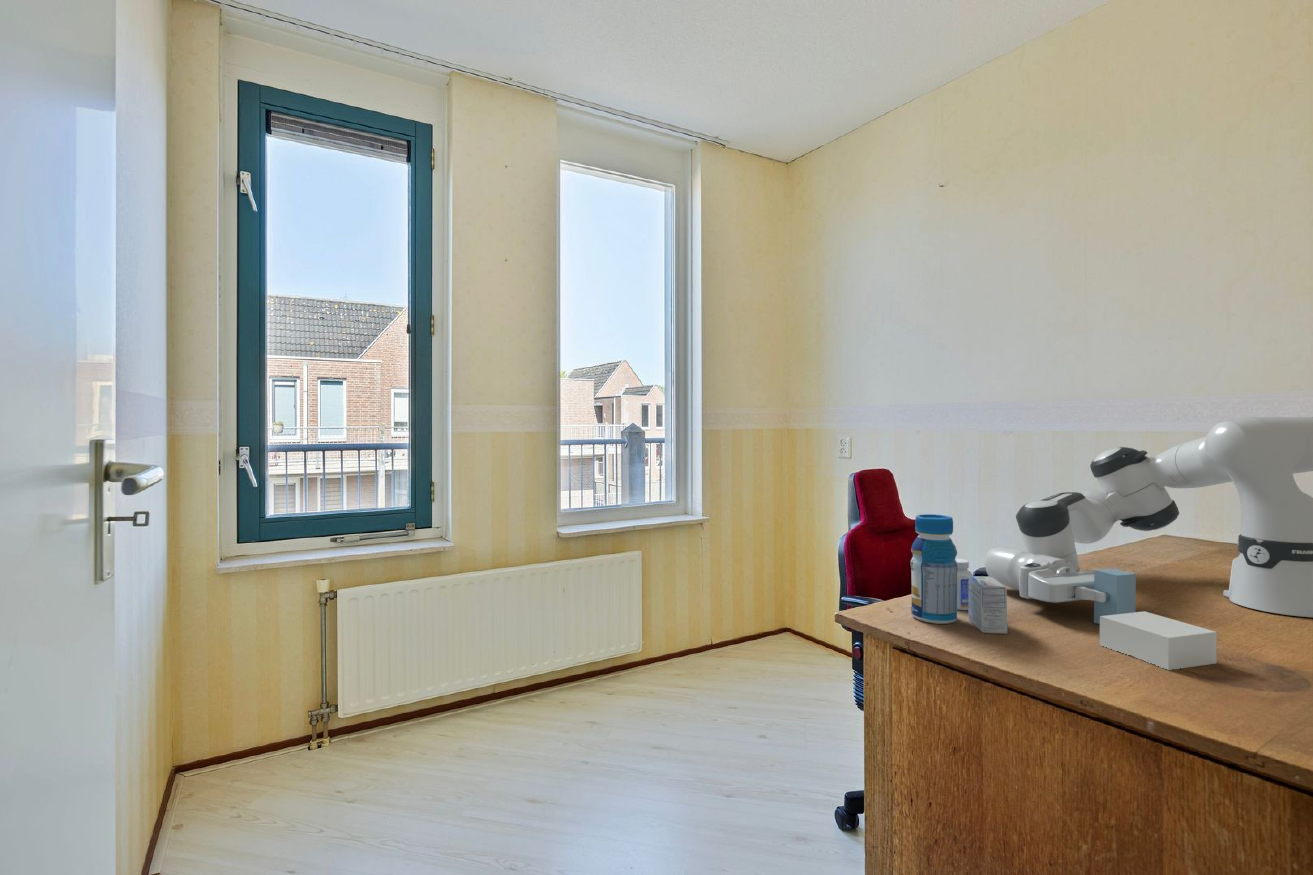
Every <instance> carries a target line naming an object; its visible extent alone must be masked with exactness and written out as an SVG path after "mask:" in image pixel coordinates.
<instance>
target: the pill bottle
mask: <svg viewBox="0 0 1313 875" xmlns="http://www.w3.org/2000/svg"><path fill="white" fill-rule="evenodd" d="M955 560H956V562H957V564H958V571H957V610H958V611H969V610H968V607H969V606H968V604H969V601H968V600H969V597H968V580H969V577H972V576H974V575H973V573H972V572H971V571H970V570H969V567H970V564H969V563H970V562H969V560H967V559H964V558H956V557H955Z"/></svg>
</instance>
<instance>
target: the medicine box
mask: <svg viewBox="0 0 1313 875" xmlns="http://www.w3.org/2000/svg"><path fill="white" fill-rule="evenodd" d="M1007 591H1008V590H1007V586H1005V585H1003V584H1001V583H1000V582H998V581H997V580H995V579H994V578H992V577H990V576H983V575H981V576H979V575H978V576H976V575H973V576H972V577H969V580H968V597H969V600H968V601H969V604H968V606H969V607H968V610H967V611H968V620H969V621H970V622H971V623H972V624H973V625H974V626H975V627H976V628H977V629H978V630H979V631H980V632H981V633H983V634H996V635H997V634H998V635H1006V634H1008V598H1007V597H1008V596H1007V595H1008V592H1007Z"/></svg>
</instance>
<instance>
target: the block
mask: <svg viewBox="0 0 1313 875" xmlns="http://www.w3.org/2000/svg"><path fill="white" fill-rule="evenodd" d="M1136 577H1137V574H1136V573H1134V572H1130V571H1125V570H1121V569H1116V568H1105V569H1104V568H1101V569H1094V590H1097V591H1104V592H1108V593H1109V594H1110V597H1109V598H1110V601H1109V602H1098V601H1095V600H1093V623H1095V624H1098V625H1100V616H1107V615H1116V614H1125V613H1134V612H1137V611H1136V604H1137V603H1136V602H1137V601H1136V600H1137V599H1136V597H1137V596H1136V591H1137V590H1136V588H1137V587H1136V586H1137V585H1136V584H1137V580H1136V579H1137V578H1136Z"/></svg>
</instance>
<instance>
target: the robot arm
mask: <svg viewBox="0 0 1313 875" xmlns="http://www.w3.org/2000/svg"><path fill="white" fill-rule="evenodd" d="M1147 455H1148V452H1147V451H1146V450H1138V449H1135V448H1133V447H1128V446H1127V447H1125V446H1124V447H1123V446H1120V447H1114V448H1110V449H1107V450H1104V451H1102V452H1101V453H1099V454H1098V455H1097V456H1096V457H1095V458H1094V459H1093V460H1092V461H1091V463H1090V465H1089V467H1090V470H1091V473H1092V475H1093V477H1094V478H1096V479H1097V481H1098V483H1099V485H1100V486H1101V488H1102V490H1100V489H1086V490H1084V491H1083V490H1082V491H1081V492H1078V491H1075V492H1074V491H1073V492H1071V491H1067V492H1060V493H1056V494H1053V495H1050V496H1049V497H1046V498H1042V499H1041V500H1037V501H1031V502H1029V503H1025V504H1023V506H1021V507H1020V508H1019V510H1018V511H1017V513H1016V515H1015V519H1016V522H1017V525H1018V527H1019V531H1020V535H1021V538H1022V543H1023V547H1024V549H1021V548H1014V547H1006V546H995V547H991V548H990V549H989V550H988V551H987V553H986V555H985V559H984V567H985V571H986V574H987V576H988V577H992V578H994V579H995V580H997V581H998V582H1000V583H1001V584H1002V585H1004V586H1005V587H1008V588H1010V589H1014V590H1017V591H1019V592H1018V593H1019V597H1021V598H1023V599H1026V600H1037V601H1041V602H1046V603H1064V602H1065V603H1067V602H1075V601H1076V602H1077V601H1083V600H1084V601H1085V600H1087V601H1094V600H1095V601H1098V602H1109V601H1110V598H1109V597H1110V594H1109V593H1108V592H1104V591H1097V590H1094V570H1095V569H1094V570H1092V569H1091V570H1080V563H1079V556H1078V553H1077V548H1076V544H1075V543H1077V544H1083V545H1085V544H1093V543H1097V542H1098V541H1101V540H1103V539H1104V538H1105V537H1106V536H1107V535H1108V534H1109V533H1110V531H1111V529H1112V528H1113V527H1114V525H1115V524H1116V523H1117V522H1118V521H1121V522H1120V523H1119V525H1120V526H1121V527H1123V528H1128V527H1129V528H1131V529H1133V530H1138V531H1143V532H1149V531H1150V532H1151V531H1156V530H1161V529H1165V528H1166V527H1168V526H1169V525H1171V524H1172V523H1173V522H1175V521H1176V519H1178V517H1179V515H1180V510H1179V507H1178V505H1177V503H1176V501H1175V500H1173V499H1172V498H1171V496H1170V494H1169V492H1168V491H1167V489H1166V487H1167V488H1169V489H1170V488H1172V489H1196V488H1198V489H1199V488H1204V487H1210V486H1216V485H1221V484H1225V483H1231V482H1232V483H1233V484H1234V485H1235V488H1236V491H1237V494H1238V497H1239V501H1240V521H1241V522H1240V524H1241V525H1240V527H1241V528H1240V529H1241V530H1240V531H1241V533H1240V534H1239V535H1238V538H1237V539H1238V540H1237V551H1238V552H1239V555H1238V556H1236V557H1235V558H1233V559H1232V561H1231V562H1232V564H1231V571H1230V579H1229V587H1228V589H1224V590H1223V592H1222V595H1223V596H1225V597H1226V598H1229V601H1230V602H1232V603H1234V604H1236V605H1239V606H1242V607H1246V608H1249V609H1254V610H1258V611H1262V612H1265V613H1266V612H1267V613H1273V614H1278V615H1279V614H1280V615H1286V616H1295V617H1303V618H1304V617H1306V618H1313V496H1311V495H1310V494H1308V493H1306V492H1304V491H1303V490H1302V489H1300V487H1299V486H1298V484H1297V483H1296V480H1295V478H1294V475H1295V474H1300V473H1301V474H1302V473H1307V472H1313V416H1254V417H1253V416H1250V417H1249V416H1246V417H1239V418H1235V419H1230V420H1225V421H1221V422H1218V423H1216V424H1215V425H1213V426H1212V427H1211V428H1210V429H1209V431H1208V432H1207V434H1206V436H1202V437H1199V438H1195V439H1191V440H1188V441H1185V442H1181V443H1179V444H1176V445H1174V446H1172V447H1170V448H1167V449H1166V450H1164V451H1162V452H1160V453H1158V454H1157V455H1155V456H1152V457H1151V456H1150V457H1149V456H1147Z"/></svg>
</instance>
